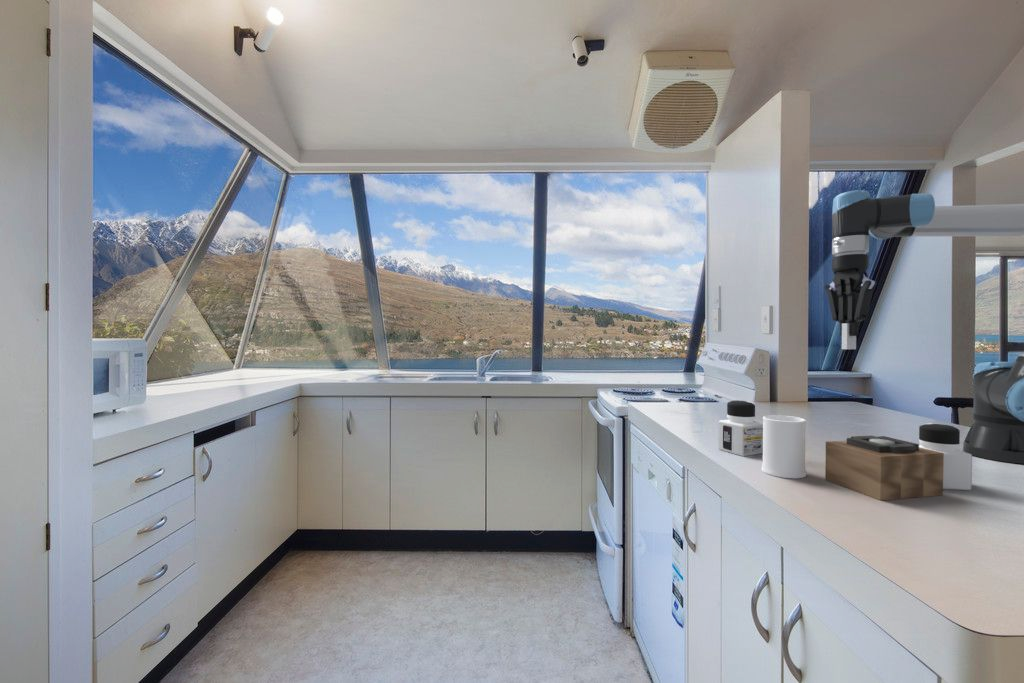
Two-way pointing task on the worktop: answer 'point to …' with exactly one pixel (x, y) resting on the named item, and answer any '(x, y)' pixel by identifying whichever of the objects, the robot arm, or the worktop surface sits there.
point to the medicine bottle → (948, 454)
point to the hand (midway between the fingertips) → (848, 349)
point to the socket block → (884, 468)
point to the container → (741, 430)
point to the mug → (784, 446)
